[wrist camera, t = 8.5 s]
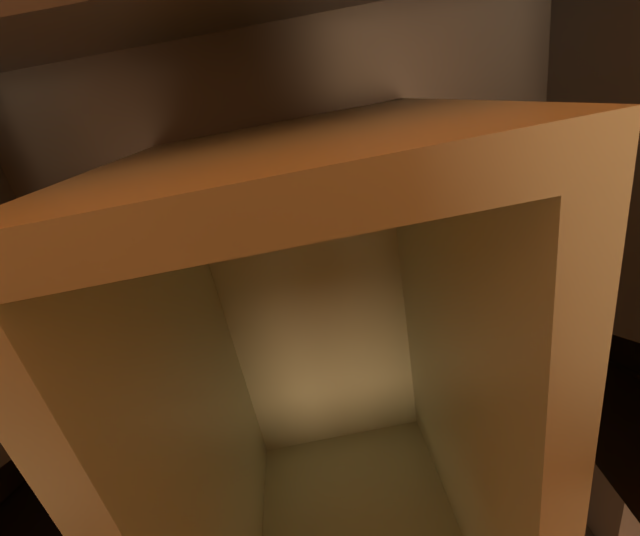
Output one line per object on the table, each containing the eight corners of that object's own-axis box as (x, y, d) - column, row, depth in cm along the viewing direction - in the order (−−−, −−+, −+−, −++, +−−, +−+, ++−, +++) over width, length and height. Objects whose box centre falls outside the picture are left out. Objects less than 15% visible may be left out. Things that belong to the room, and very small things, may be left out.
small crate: (402, 98, 10) (642, 103, 3) (430, 418, 14) (560, 710, 7) (152, 146, 10) (-128, 253, 3) (254, 452, 14) (224, 775, 7)
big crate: (572, -80, 9) (853, -252, 5) (539, 436, 16) (644, 578, 11) (-75, 42, 9) (-433, -10, 5) (157, 508, 16) (103, 680, 11)
